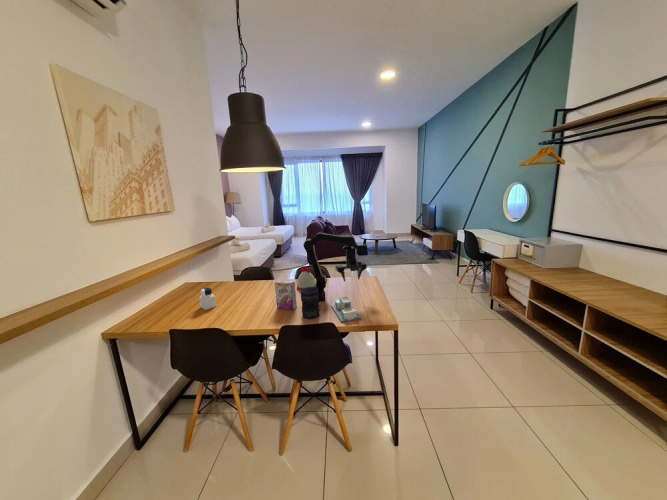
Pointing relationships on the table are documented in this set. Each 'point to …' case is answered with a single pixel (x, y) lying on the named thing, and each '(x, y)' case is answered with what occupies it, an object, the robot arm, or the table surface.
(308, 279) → the kitchen timer
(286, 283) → the candy bar box
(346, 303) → the block
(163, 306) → the table surface
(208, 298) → the medicine bottle
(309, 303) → the storage jar
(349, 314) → the board
